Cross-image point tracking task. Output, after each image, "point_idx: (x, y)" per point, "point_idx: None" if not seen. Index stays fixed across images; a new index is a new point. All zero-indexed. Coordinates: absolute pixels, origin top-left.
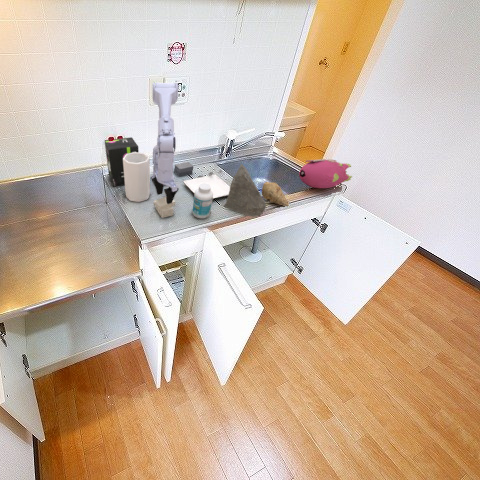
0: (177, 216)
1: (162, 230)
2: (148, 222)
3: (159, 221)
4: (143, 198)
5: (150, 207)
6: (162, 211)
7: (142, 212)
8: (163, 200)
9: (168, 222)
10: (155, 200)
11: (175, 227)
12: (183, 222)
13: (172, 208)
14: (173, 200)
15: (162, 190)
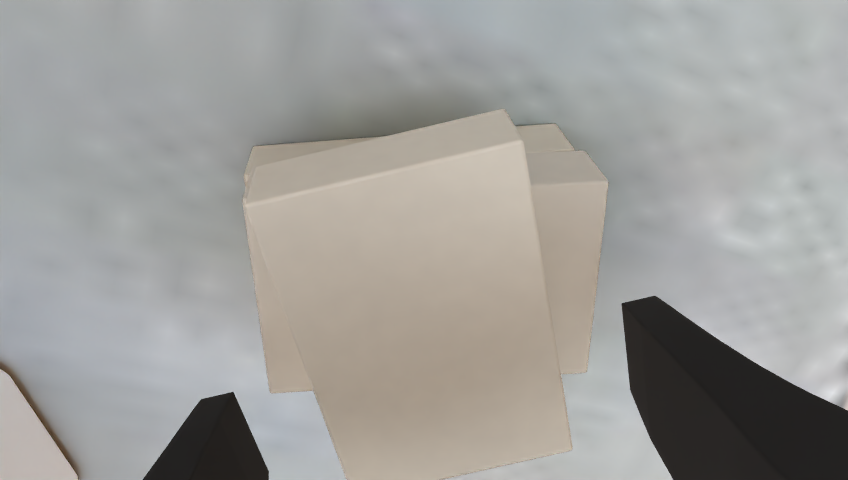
0: (610, 57)
1: (789, 347)
2: (567, 452)
3: (606, 337)
4: (31, 457)
5: (243, 372)
6: (583, 360)
7: (339, 476)
8: (402, 358)
9: (682, 236)
10: (358, 478)
11: (831, 180)
12: (799, 18)
13: (592, 195)
14: (472, 170)
15: (215, 450)
